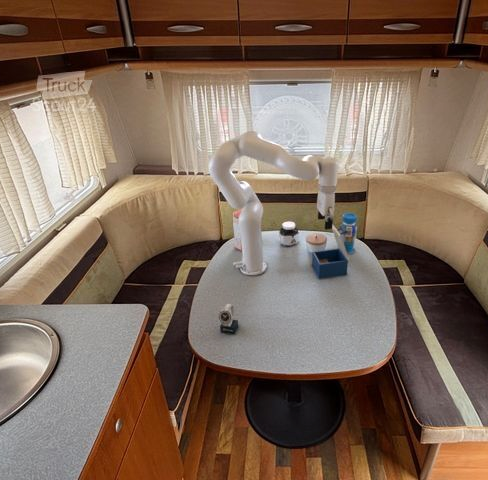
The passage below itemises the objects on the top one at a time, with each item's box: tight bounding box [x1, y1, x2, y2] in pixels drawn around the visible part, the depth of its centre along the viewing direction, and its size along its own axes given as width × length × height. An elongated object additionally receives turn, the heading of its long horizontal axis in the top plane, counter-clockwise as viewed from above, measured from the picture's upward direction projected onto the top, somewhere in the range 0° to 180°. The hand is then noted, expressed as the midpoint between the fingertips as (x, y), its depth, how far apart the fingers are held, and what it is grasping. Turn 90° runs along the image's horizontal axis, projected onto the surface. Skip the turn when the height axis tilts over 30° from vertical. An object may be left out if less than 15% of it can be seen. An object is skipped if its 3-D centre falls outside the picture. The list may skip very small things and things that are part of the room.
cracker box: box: [232, 209, 242, 252], centre depth 187 cm, size 14×6×21 cm, turn 136°
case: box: [311, 247, 349, 280], centre depth 169 cm, size 14×12×8 cm
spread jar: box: [278, 221, 300, 248], centre depth 192 cm, size 12×11×12 cm
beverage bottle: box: [339, 212, 358, 255], centre depth 181 cm, size 8×8×20 cm
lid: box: [331, 223, 350, 261], centre depth 164 cm, size 14×12×5 cm
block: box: [319, 259, 329, 264], centre depth 169 cm, size 4×4×4 cm
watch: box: [218, 303, 239, 335], centre depth 133 cm, size 6×8×11 cm
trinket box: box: [305, 232, 328, 254], centre depth 183 cm, size 11×11×9 cm
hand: (324, 223), depth 158 cm, fingers open, 9 cm apart
